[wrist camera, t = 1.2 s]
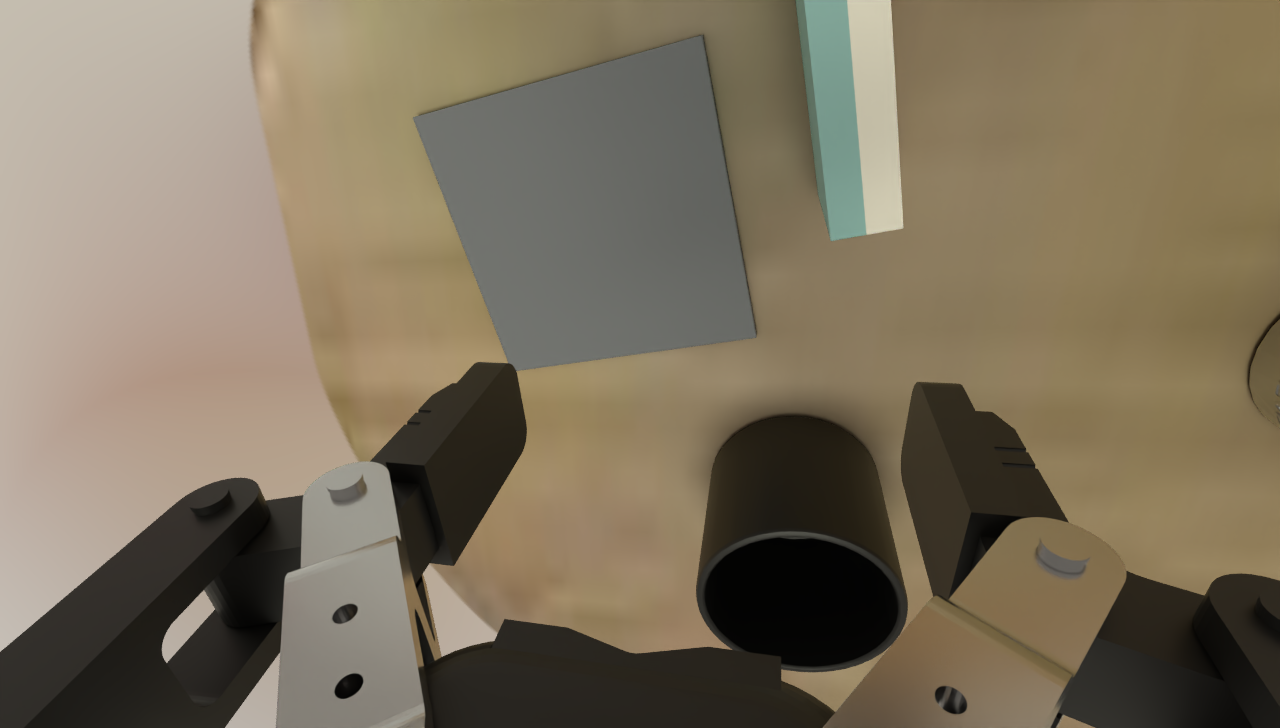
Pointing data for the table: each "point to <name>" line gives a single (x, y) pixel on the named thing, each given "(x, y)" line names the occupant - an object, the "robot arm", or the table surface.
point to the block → (852, 113)
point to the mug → (800, 548)
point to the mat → (597, 209)
